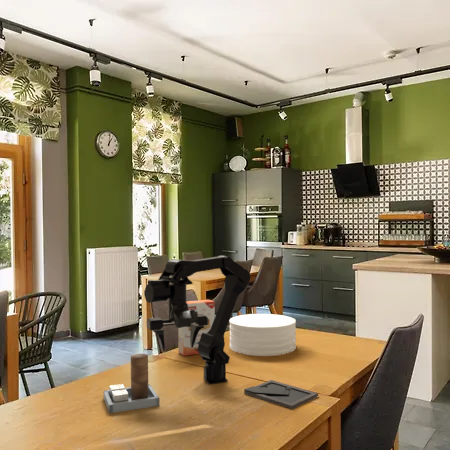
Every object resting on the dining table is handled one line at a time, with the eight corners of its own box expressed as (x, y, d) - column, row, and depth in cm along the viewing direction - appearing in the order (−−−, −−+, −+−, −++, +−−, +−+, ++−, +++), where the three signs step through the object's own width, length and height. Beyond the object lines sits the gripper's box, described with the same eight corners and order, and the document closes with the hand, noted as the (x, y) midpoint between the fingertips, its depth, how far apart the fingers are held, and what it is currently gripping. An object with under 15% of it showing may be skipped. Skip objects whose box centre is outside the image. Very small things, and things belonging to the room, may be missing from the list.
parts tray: (150, 394, 145) (150, 384, 145) (159, 408, 134) (159, 397, 134) (103, 400, 140) (103, 390, 140) (109, 416, 129) (109, 405, 129)
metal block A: (123, 397, 141) (123, 383, 141) (125, 401, 137) (125, 388, 137) (109, 399, 139) (109, 385, 139) (111, 403, 135) (111, 390, 135)
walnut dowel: (149, 397, 141) (148, 353, 141) (147, 403, 136) (146, 358, 136) (132, 397, 140) (132, 354, 140) (129, 403, 135) (129, 358, 135)
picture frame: (244, 395, 145) (291, 411, 132) (244, 389, 145) (291, 404, 132) (271, 384, 154) (318, 398, 142) (271, 378, 154) (318, 391, 142)
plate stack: (216, 349, 196) (216, 322, 196) (251, 336, 219) (251, 311, 219) (276, 360, 181) (275, 330, 181) (306, 344, 204) (306, 317, 204)
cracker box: (183, 356, 186) (183, 303, 186) (178, 353, 191) (177, 301, 191) (215, 352, 192) (215, 300, 192) (209, 348, 198) (208, 298, 198)
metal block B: (126, 403, 136) (125, 389, 136) (128, 408, 132) (128, 393, 132) (111, 405, 135) (111, 391, 135) (114, 410, 131) (113, 395, 131)
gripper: (154, 305, 137) (154, 359, 138) (214, 301, 144) (214, 352, 144) (146, 300, 148) (146, 349, 148) (202, 296, 155) (202, 343, 155)
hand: (177, 348), depth 148 cm, fingers open, 9 cm apart
